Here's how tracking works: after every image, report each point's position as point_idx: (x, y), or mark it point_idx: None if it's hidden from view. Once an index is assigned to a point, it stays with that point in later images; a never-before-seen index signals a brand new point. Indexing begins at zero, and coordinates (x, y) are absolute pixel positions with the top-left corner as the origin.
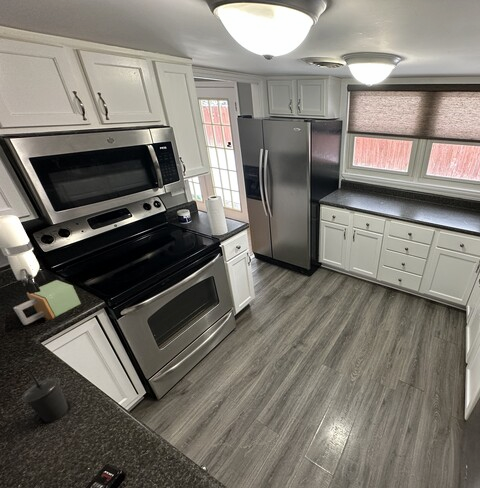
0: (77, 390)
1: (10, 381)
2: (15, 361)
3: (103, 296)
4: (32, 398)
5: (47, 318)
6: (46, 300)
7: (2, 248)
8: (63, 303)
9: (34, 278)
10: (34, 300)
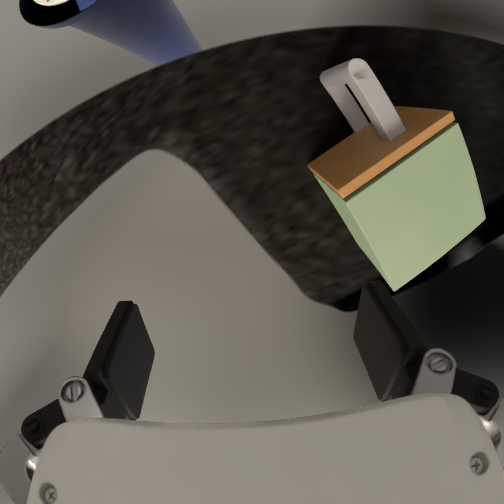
0: None
1: (12, 160)
2: (71, 132)
3: (347, 304)
4: None
5: None
6: None
7: None
8: (344, 217)
9: (374, 318)
10: (386, 134)
